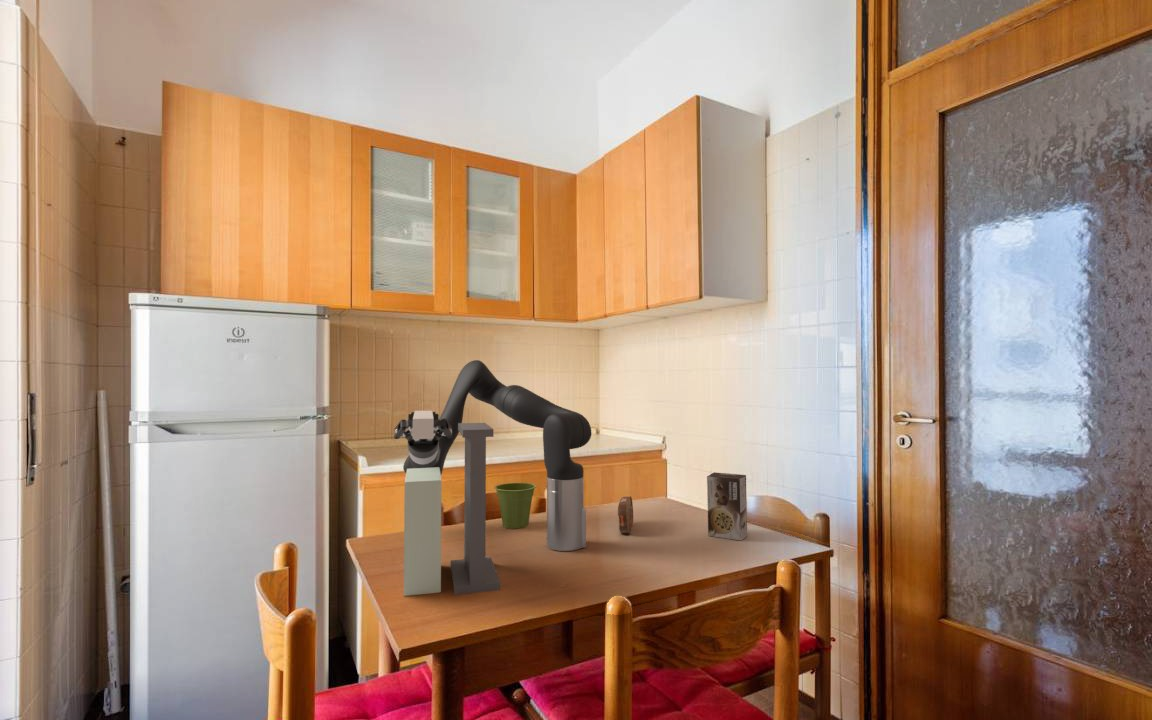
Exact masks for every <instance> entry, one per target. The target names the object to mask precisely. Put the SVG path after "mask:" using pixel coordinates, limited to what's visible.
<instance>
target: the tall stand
mask: <svg viewBox="0 0 1152 720" xmlns="http://www.w3.org/2000/svg"><path fill="white" fill-rule="evenodd" d="M458 431H459V434H460V435H461V437H462V438H463V439H464V504H463V505H464V511H463V512H464V516H463V517H464V519H463V520H464V524H463V525H464V527H463V528H464V530H463V533H464V534H463V535H464V537H463V539H464V541H463V542H464V543H463V547H464V549H463V551H464V553H463V559H461V558H460V559H453V560H452V559H451V560H450V574H451V580H452V587H453V593H454V594H453V595H454V596H455V595H456V596H457V595H464V594H465V595H466V594H474V593H483V592H484V593H485V592H494V591H501V580H500V577H499V575H498V574H499V573H498V572H497V570H496V567H495V564H494V561H493V558H492V556H486V542H487V541H486V537H487V536H486V534H487V533H486V529H487V528H486V526H487V525H486V521H487V520H486V519H487V518H486V516H487V514H486V513H487V512H486V508H487V507H486V506H487V505H486V504H487V502H486V501H487V500H486V499H487V496H486V495H487V493H486V491H487V487H486V484H487V479H486V477H487V472H486V471H487V438H494V428H492V427H491V426H490V425H489V424H487V423H486V422H467V423H466V422H464V423H463V422H462V423H458Z"/></svg>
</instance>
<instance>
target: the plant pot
mask: <svg viewBox="0 0 1152 720" xmlns="http://www.w3.org/2000/svg"><path fill="white" fill-rule="evenodd" d="M536 488H537V486H536V484H534V483H528V482H508V483H500V484H497V485H495V486H494V489H495V490H496V496H497V499H498V504H499V509H500V516H501V522H502V526H503V528H504V529H505V528H506V529H512V530H516V529H518V528H521V529H523V528H526V527H528V526H529V522H530V515H531V507H532V502H533V501H532V500H533V497H534V493H535V489H536Z"/></svg>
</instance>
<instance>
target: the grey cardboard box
mask: <svg viewBox="0 0 1152 720" xmlns="http://www.w3.org/2000/svg"><path fill="white" fill-rule="evenodd" d="M706 487H707V489H706V490H707V494H706V495H707V536H708V537H716V538H722V539H729V540H734V541H735V540H736V541H742V540H743V539H745V538H746V537H747V536H748V513H747V512H748V511H747V510H748V509H747V504H748V503H747V475H746V474H739V473H729V472H728V473H726V472H713V473H710V474H709V475H706Z"/></svg>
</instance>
